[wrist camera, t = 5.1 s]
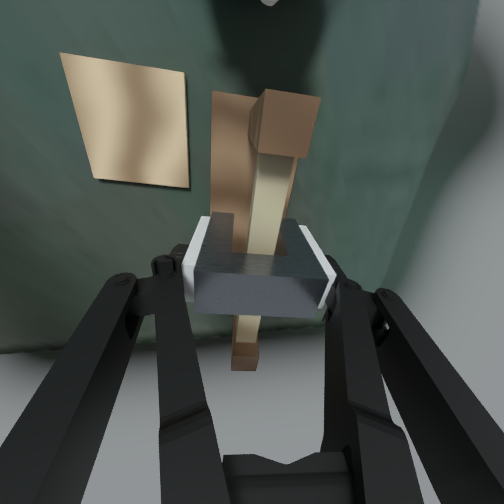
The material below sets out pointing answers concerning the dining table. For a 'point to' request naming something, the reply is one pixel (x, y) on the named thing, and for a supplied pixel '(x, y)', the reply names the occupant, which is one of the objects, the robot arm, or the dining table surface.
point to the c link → (257, 274)
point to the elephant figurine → (269, 2)
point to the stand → (256, 179)
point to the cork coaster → (131, 120)
